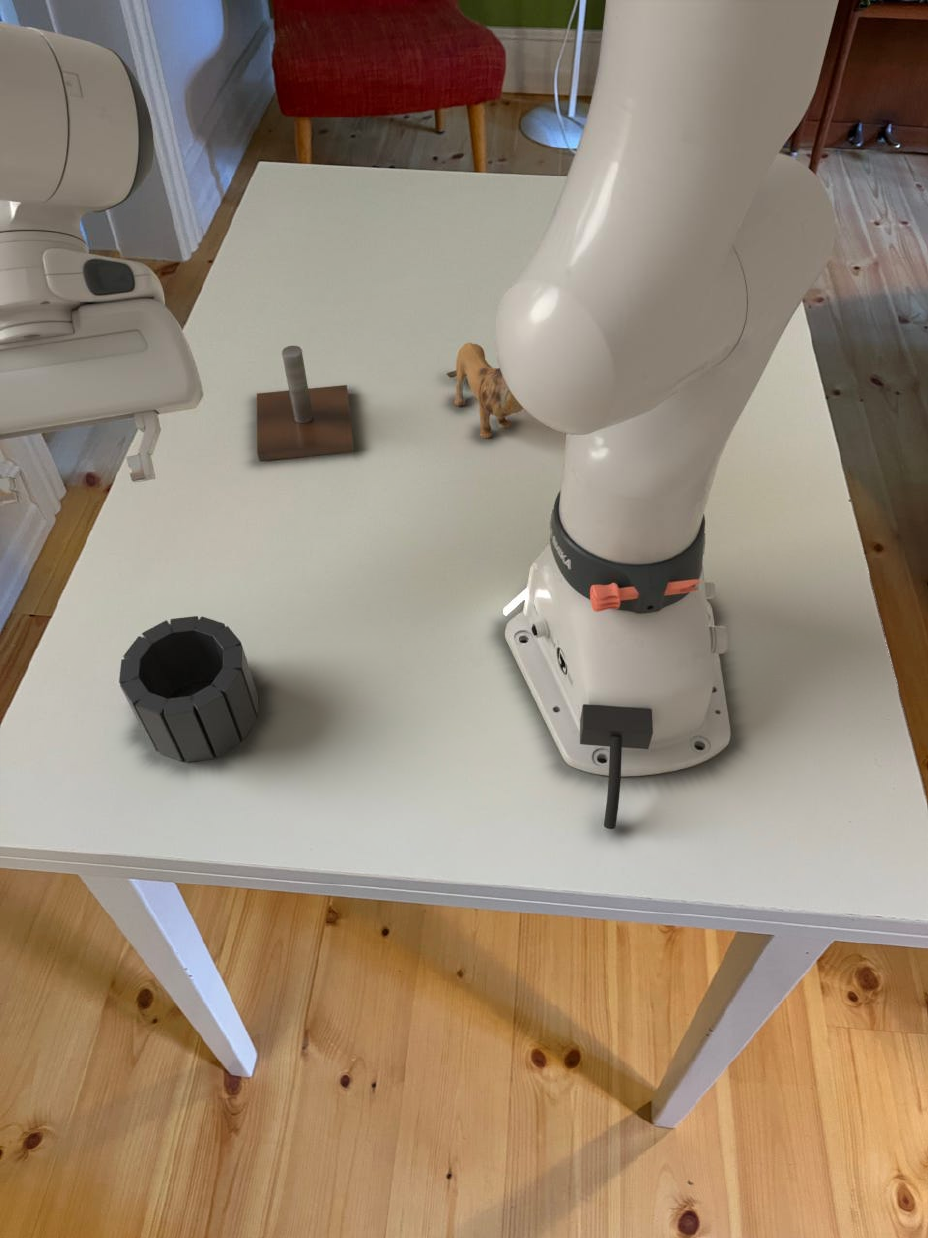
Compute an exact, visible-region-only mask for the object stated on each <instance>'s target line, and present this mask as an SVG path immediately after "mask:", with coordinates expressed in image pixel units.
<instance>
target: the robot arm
mask: <svg viewBox="0 0 928 1238" xmlns="http://www.w3.org/2000/svg"><path fill="white" fill-rule="evenodd" d="M839 1H840V0H605V4H604V5H605V7H604V15H603V16H604V17H603V25H602V33H601V42H600V49H599V50H600V51H599V59H598V64H597V71H596V77H595V83H594V87H593V91H592V95H591V100H590V105H589V107H588V112H587V115H586V119H585V122H584V125H583V128H582V132H581V134H580V138H579V140H578V144H577V147H576V151H575V153H574V156H573V159H572V162H571V164H570V167H569V170H568V173H567V176H566V178H565V181H564V184H563V187H562V189H561V191H560V194H559V197H558V199H557V202H556V205H555V206H554V210H553V211H552V214H551V216H550V219H549V221H548V223H547V226H546V228H545V230H544V232H543V234H542V236H541V238H540V240H539V242H538V244H537V246H536V248H535V250H534V251H533V252H532V254H531V256H530V258H529V259H528V261H527V263H526V265H525V266H524V267H523V269H522V270H521V272H520V273H519V275H518V276H517V278H516V279H515V280H514V282H513V283H512V284H511V285H510V287H509V288H508V290H507V291H506V292H505V293H504V295H503V296H502V298H501V300H500V302H499V304H498V308H497V311H496V315H495V322H494V346H495V355H496V359H497V363H498V368H500V370H501V373H502V375H503V378H504V380H505V382H506V384H507V386H508V388H509V389H510V391H511V393H512V394H513V396H514V397H515V399H516V400H517V401H518V402H519V403H520V405H521V406H522V407H523V410H525V412H527V413H528V414H529V415H530V416H531V417H533V418H534V419H536V420H537V421H538V422H540V423H541V424H542V425H544V426H547V427H549V428H551V429H552V430H554V431H557V432H559V433H561V434H566V435H565V436H566V437H565V443H564V454H563V464H562V473H561V482H560V483H561V484H560V490H559V492H558V493H557V494H556V498H555V500H554V505H553V508H552V510H551V515H550V520H549V521H550V522H549V543H548V545H547V546H546V547H545V548H544V550H543V551H542V552H541V554H540V555H539V556H538V557H537V558H536V559H535V560H534V562H533V564H532V565H530V567H529V572H528V573H529V574H528V578H527V584H526V588H525V589H524V590H523V591H521V593H519V594H518V595H517V596H516V597H515V598H514V599H513V600H512V601H510V603H508V605H506V606H505V607H504V608H503V615H504V616H508V614H510V613H511V612H512V611H513V610H514V609H515V608H516V607H517V606H518V605H519V604H520V603H522V602H523V601H524V603H523V610H521V611H520V612H518V613H517V614H516V615H515V616H514V617H512V618H511V619H510V620H509V621H508V622H507V623H506V626H505V631H504V638H505V641H506V643H507V645H508V647H509V649H510V651H511V654H512V656H513V658H514V659H515V662H516V664H517V666H518V668H519V670H520V673H521V674H522V676H523V678H524V680H525V682H526V685H527V686H528V689H529V691H530V693H531V695H532V698H533V699H534V701H535V703H536V705H537V707H538V710H539V712H540V713H541V716H542V718H543V720H544V722H545V725H546V727H547V728H548V730H549V732H550V735H551V736H552V739H553V741H554V743H555V746H556V747H557V749H558V751H559V753H560V755H561V757H562V759H563V760H564V762H565V763H566V764H567V765H568V766H569V767H572V768H574V769H577V770H579V771H583V772H585V773H589V774H594V775H600V776H607V777H608V780H607V795H606V805H605V814H604V821H603V827H605V829H607V830H614V829H616V827H617V819H618V812H619V803H620V793H621V780H622V779H621V778H622V777H642V776H651V775H660V774H665V773H671V772H675V771H680V770H684V769H688V768H692V767H694V766H697V765H699V764H701V763H704V762H706V761H708V760H711V759H712V758H713V757H715V756H717V755H718V754H720V753H721V752H722V751H723V750H724V749H725V748H727V746H728V745H729V744H730V740H731V725H730V718H729V710H728V705H727V698H726V692H725V684H724V678H723V672H722V664H721V658H720V655H724V654H726V652H727V650H728V646H729V633H728V629H727V627H726V626H724V625H715V620H714V619H715V618H714V613H713V607H712V605H711V603H710V602H709V601H708V600H710V599H714V598H715V594H716V586H715V583H714V582H713V581H711V582H710V581H706V580H705V571H704V565H703V564H704V563H703V562H704V555H705V549H706V533H705V532H706V530H705V529H706V516H705V511H706V507H707V504H708V500H709V498H710V493H711V490H712V487H713V484H714V480H715V476H716V473H717V470H718V466H719V463H720V460H721V457H722V455H723V453H724V450H725V447H726V445H727V443H728V441H729V438H730V436H731V435H732V433H733V431H734V428H735V426H736V424H737V423H738V421H739V419H740V417H741V415H742V413H743V412H744V410H745V408H746V406H747V404H748V402H749V400H750V399H751V397H752V395H753V393H754V391H755V389H756V388H757V385H758V383H759V382H760V380H761V378H762V376H763V374H764V372H765V370H766V368H767V366H768V364H769V362H770V360H771V358H772V356H773V354H774V352H775V350H776V348H777V345H778V344H779V341H780V339H781V338H782V336H783V334H784V332H785V329H786V328H787V326H788V325H789V323H790V321H791V319H792V317H793V316H794V314H795V313H796V311H797V310H798V308H799V307H800V305H801V304H802V302H803V300H804V299H805V297H806V296H807V294H808V293H809V292H810V290H811V289H812V287H814V284H815V283H816V282H817V280H818V279H819V278H820V276H821V274H822V273H823V272H824V270H825V269H826V267H827V265H828V263H829V261H830V258H831V257H832V253H833V250H834V245H835V239H836V218H835V213H834V208H833V205H832V201H831V199H830V197H829V194H828V192H827V190H826V188H825V186H824V185H823V183H822V182H821V180H820V179H819V177H817V175H816V174H815V173H814V172H813V171H812V170H811V169H810V168H809V167H808V166H806V165H805V164H804V163H802V161H799V160H797V159H796V158H794V157H791V156H789V155H785V154H782V153H781V150H782V148H783V147H784V146H785V144H786V142H787V141H788V140H789V138H790V137H791V136H792V134H793V133H794V132H795V130H796V129H797V128H798V126H799V124H800V123H801V121H802V120H803V118H804V116H805V115H806V113H807V111H808V109H809V107H810V104H811V102H812V100H813V97H814V95H815V93H816V90H817V87H818V83H819V79H820V75H821V71H822V67H823V64H824V59H825V56H826V51H827V48H828V44H829V40H830V36H831V32H832V28H833V24H834V21H835V16H836V12H837V9H838V4H839ZM154 140H155V139H154V130H153V124H152V118H151V115H150V110H149V107H148V104H147V100H146V98H145V96H144V93H143V91H142V88H141V86H140V84H139V82H138V80H137V78H136V76H135V75H134V73H133V71H132V70H131V69H130V67H129V65H127V63H126V62H125V60H124V59H123V58H122V57H121V56H120V55H119V54H118V53H117V52H115V50H113V49H110V48H105V47H103V46H102V45H98V44H97V43H94V42H92V41H88V40H84V39H80V38H77V37H72V36H69V35H65V34H61V33H58V32H53V31H49V30H44V29H40V28H35V27H31V26H22V25H18V24H14V23H10V22H5V21H1V20H0V441H2V440H10V439H15V438H22V437H28V436H33V435H34V436H35V435H41V434H47V433H52V432H58V431H66V430H70V429H71V430H72V429H78V428H83V427H90V426H96V425H102V424H107V423H115V422H121V421H127V420H132V419H134V423H135V426H136V429H137V430H139V431H140V432H141V433H143V434H142V437H141V442H140V444H139V448H138V452H137V454H135V455H134V454H133V455H129V456H126V462H127V466H128V467H129V469H130V471H129V476H130V479H131V481H132V482H133V483H141V482H147V481H153V480H156V473H155V469H154V464H153V459H152V456H153V455H154V451H155V448H156V445H157V443H158V440H159V437H160V434H161V432H162V427H161V422H160V419H159V415H165V414H171V413H176V412H181V411H188V410H195V409H196V408H198V406H199V404H200V403H201V401H202V399H203V397H204V389H203V384H202V381H201V377H200V373H199V370H198V367H197V364H196V361H195V358H194V355H193V353H192V349H191V347H190V345H189V344H190V343H189V342H188V339H187V337H186V335H185V333H184V330H183V329H182V327H181V325H180V324H179V322H178V320H177V319H176V317H175V316H174V315H173V313H172V312H171V310H170V309H169V308H168V307H167V306H166V302H165V301H166V299H165V293H164V288H163V286H162V283H161V281H160V279H159V278H158V276H157V274H156V273H155V271H153V270H152V269H151V268H150V267H149V266H148V265H146V264H145V263H143V262H140V261H136V260H131V259H123V258H117V257H111V256H105V255H100V254H94V253H90V250H89V246H88V244H87V241H86V238H85V237H84V235H83V232H82V229H81V228H82V227H81V221H82V218H83V216H84V215H87V214H88V213H101V212H105V211H107V210H110V209H113V208H115V207H118V206H120V205H121V204H123V203H124V202H126V201H127V200H128V199H129V198H130V197H131V196H132V195H133V194H134V193H135V192H136V191H137V190H138V189H139V188H140V187H141V185H142V184H143V182H144V181H145V179H146V178H147V176H149V173H150V172H151V170H152V167H153V163H154V154H155V145H154V144H155V141H154ZM19 488H20V487H19V483H18V478H17V477H12V476H5V477H3V476H2V475H1V474H0V507H2V506H8V505H12V504H13V505H14V504H18V503H22V495H21V493H20V491H18V490H19ZM522 641H523V642H522ZM524 641H525V642H524ZM697 747H700V748H702V749H697ZM599 759H603V760H604V761H606V762H600V761H599Z"/></svg>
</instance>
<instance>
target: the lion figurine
mask: <svg viewBox="0 0 928 1238" xmlns="http://www.w3.org/2000/svg"><path fill="white" fill-rule="evenodd" d="M455 365H456V366H455V367H456V369H455V370H453V371H449V372H447V373H446V376H448V377H449V378H450V379H453V378H456V379H457V383H456V385H455V387H456V390H455V391H456V392H455V393H456V394H455V398H454V405H455V406H456V407H462V406H465V404H466V400H465V398H464V397H465V396H464V383H465V381H466V379H467V383H468V386H469V388H470V391H471V392H472V395H474V397H475V398H476V399H477V402H478V408H479V418H480V433H479V434H480V437H481V438H483V439H489V438H491V437H492V436H493V434H492V427H491V423H490V418H491V416H494V417H495V418H496V423H497V425H498V426H499V427H500V428H502V429H508V428H510V426H511V421H510V420H509V419H507V418H506V417H508V416H511V415H513V414H518V413H520V412H522V410H524V408H523V407H522V406H521V405H520V403H519V402H518V401H517V400H516V399H515V397H514V396H513V394H512V393H511V391H510V389H509V388H508V386H507V384H506V382H505V380H504V378H503V375H502V373H501V370H500V367H494V368H493V366H492V365H490V364H489V362H487V360H486V354H485V350H484V348H483V347H482V346H481V345H479V344H477V343H472V342H466V343H465V344H464V345H463V346H462V347H461V348H460V349H459V351H458V354H457V358H456V364H455Z"/></svg>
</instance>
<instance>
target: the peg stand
mask: <svg viewBox="0 0 928 1238" xmlns="http://www.w3.org/2000/svg"><path fill="white" fill-rule="evenodd" d="M281 356H282V360H283V365H284V371H285V376H286V382H287V386H288V387H287V388H288V390H279V391H268V392H257V393H256V454H257V457H258V461H259V462H264V461H272V460H274V461H275V460H283V459H294V458H304V457H305V458H306V457H313V456H324V455H334V454H343V453H344V454H345V453H354V452H355V448H354V437H353V429H352V428H353V427H352V418H351V409H350V400H349V399H350V398H349V390H348V385H347V384H343V385H341V384H340V385H333V386H331V385H330V386H322V387H321V386H320V387H311V388H309V385H308V379H307V373H306V367H305V362H304V355H303V349H302V348H301V347H300V346H298V345H288V346H285V347H284V348H283V349H282V351H281Z"/></svg>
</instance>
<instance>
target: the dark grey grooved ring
mask: <svg viewBox="0 0 928 1238" xmlns="http://www.w3.org/2000/svg"><path fill="white" fill-rule="evenodd" d="M141 635H142V636H139V635H138V636H137V637H136V639H135V640H134V641H133V642H132V644H131V645H130V647H129V648H128V649H127V650H126V652H125V653H124V654H123V656H122V657H123V658H122V659H121V661H120V668H119V669H120V670H119V678H118V683H119V684H120V685H119V687H120V689H121V691H122V693H123V694H124V696H125V698H126V701H127V702H128V704H129V706H130V708H131V710H132V712H133V714H134V716H135V718H136V720H137V722H138V724H139V726H140V727H141V729H142V732H143V733H144V735H145V737H146V738H147V740H148V741H149V742H150V744H151V746H152V747H153V748H154V750H155V751H156V752H158V753H159V754H160V755H163V756H166V757H169V758H171V759H173V760H177V761H179V762H183V761H185V762H186V763H191V762H199V761H200V762H201V761H205V760H207V761H208V760H214V756H216V758H219V757H221V756H222V755H224V754H225V753H227V752H228V751H230V750H232V749H233V748H235V747H237V746H238V745H240V744H241V740H242V741H244V740H245V739H246V737H247V735H249V733H250V731H251V729H252V728H253V726H254V725H255V723H256V722H257V717H259V695H258V691H257V688H256V685H255V682H254V678H253V676H252V672H251V668H250V666H249V663H248V660H247V656H246V653H245V650H244V647H243V644H242V642H241V640H240V639H239V638H238V637H237V635H235V633H234V632H233V631H232V629H231V628H230V627H229V626H228V625H227V626H226V624H225V623H224V622H221V621H218V620H214V619H211V618H209V617H205V616H200V617H199V616H198V615H192V616H185V617H184V616H183V617H176V618H170V620H169V622H168V620H167V619H166V620H164V621H162V622H160V623H158V624H156V625H154V626H152V627H151V628H149V629H147V630H145V631H143V632H142V633H141ZM208 681H212V682H211V684H209V685H208V686H206V687H204V688H202V689H201V690H199V691H196V692H195V693H194V694H191V695H186V696H179V697H173V695H174V694H175V693H176V692H179V691H180V690H182V689H184V688H185V687H187V686H189V685H191V684H193V683H199V682H208Z"/></svg>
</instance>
